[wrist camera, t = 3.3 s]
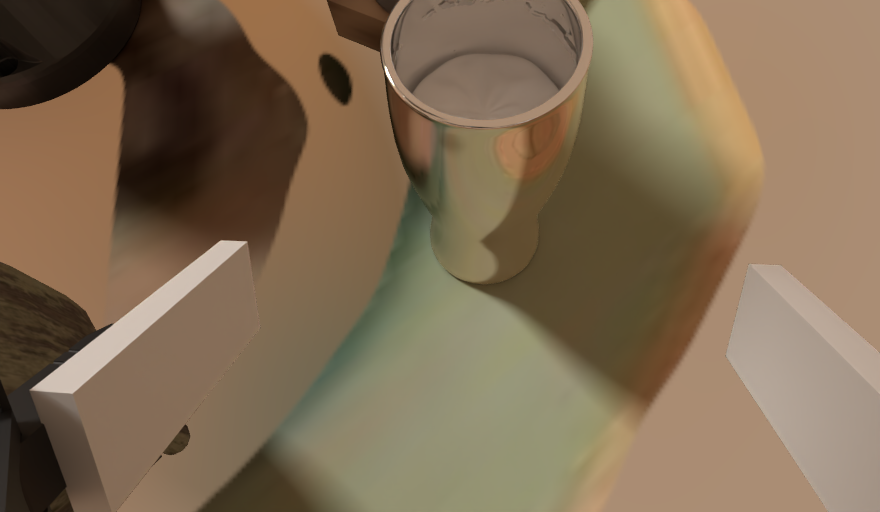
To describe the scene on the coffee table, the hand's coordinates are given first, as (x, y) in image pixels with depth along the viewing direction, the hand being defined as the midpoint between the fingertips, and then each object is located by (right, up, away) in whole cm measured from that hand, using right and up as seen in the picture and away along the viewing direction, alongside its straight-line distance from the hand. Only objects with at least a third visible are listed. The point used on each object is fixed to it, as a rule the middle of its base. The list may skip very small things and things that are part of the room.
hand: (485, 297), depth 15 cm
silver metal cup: (+1, +2, +16) cm, 16 cm away
